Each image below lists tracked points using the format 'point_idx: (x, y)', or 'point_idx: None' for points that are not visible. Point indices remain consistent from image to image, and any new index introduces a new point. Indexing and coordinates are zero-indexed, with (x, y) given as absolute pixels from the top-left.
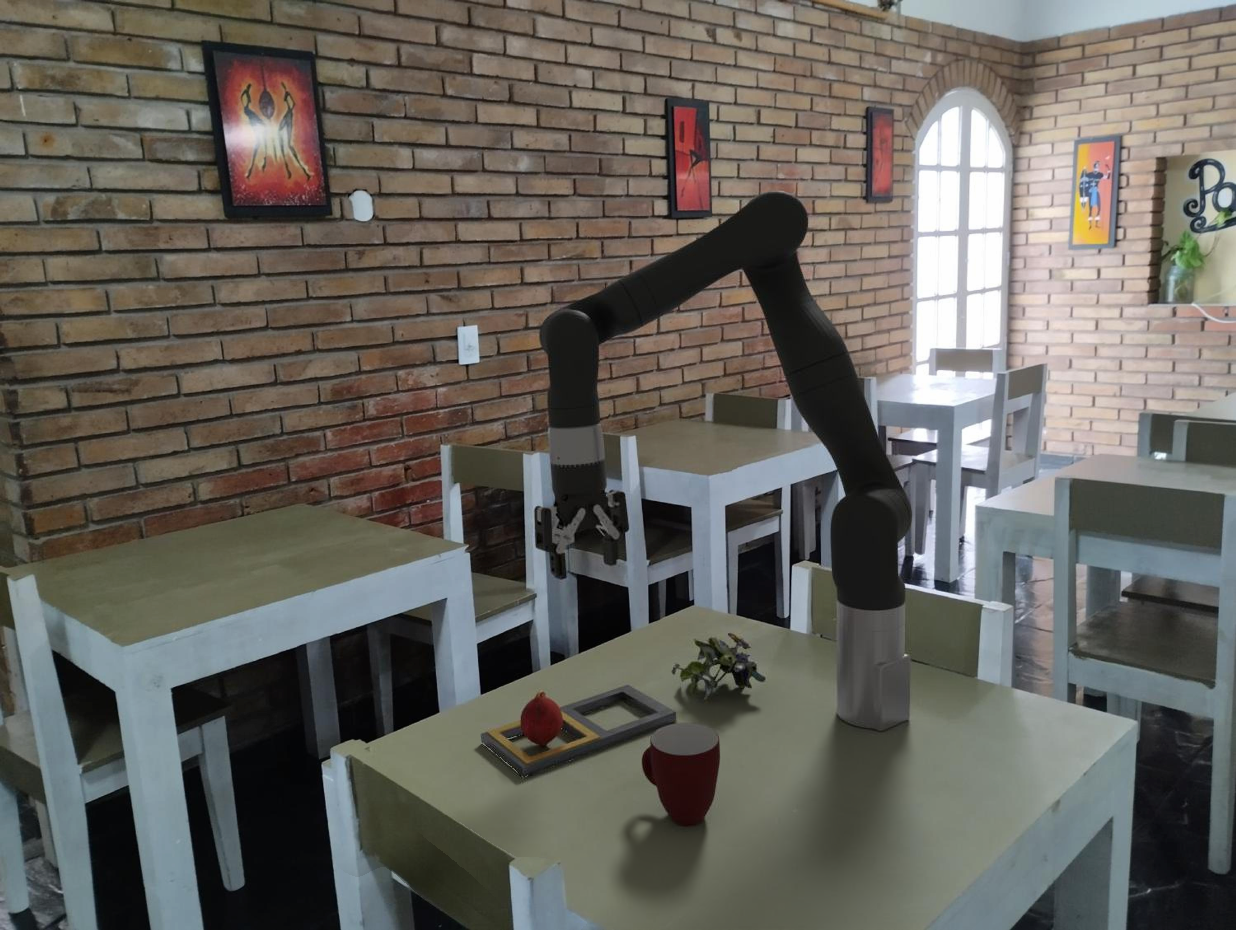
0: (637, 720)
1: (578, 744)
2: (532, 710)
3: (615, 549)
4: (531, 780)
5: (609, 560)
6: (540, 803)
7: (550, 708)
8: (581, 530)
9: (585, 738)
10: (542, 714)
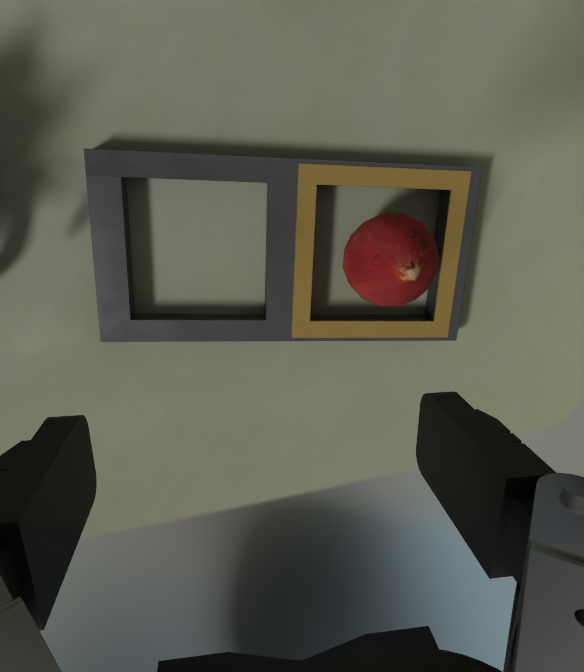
0: (186, 175)
1: (353, 166)
2: (433, 252)
3: (11, 470)
4: (465, 150)
5: (80, 455)
6: (504, 61)
7: (398, 233)
8: (381, 640)
9: (326, 179)
10: (419, 230)
